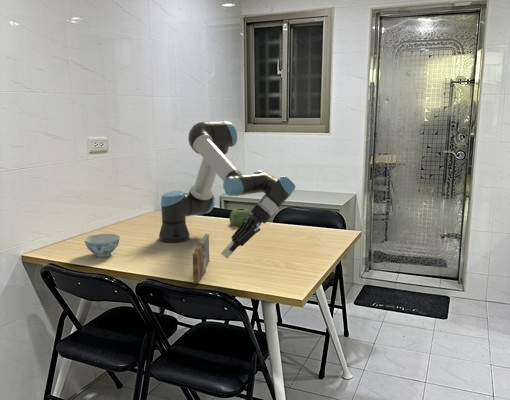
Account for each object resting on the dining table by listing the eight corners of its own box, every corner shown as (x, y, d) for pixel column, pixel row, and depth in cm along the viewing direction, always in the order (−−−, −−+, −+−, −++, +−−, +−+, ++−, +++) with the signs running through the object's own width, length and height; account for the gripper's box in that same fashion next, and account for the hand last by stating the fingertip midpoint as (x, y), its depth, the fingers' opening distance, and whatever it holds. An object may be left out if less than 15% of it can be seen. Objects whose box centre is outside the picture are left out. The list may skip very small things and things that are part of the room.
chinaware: (84, 252, 213) (83, 235, 212) (118, 248, 219) (117, 232, 218) (86, 261, 200) (85, 244, 198) (123, 257, 206) (122, 240, 204)
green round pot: (236, 220, 273) (236, 206, 272) (256, 222, 268) (256, 208, 266) (222, 226, 259) (222, 211, 258) (243, 229, 253) (243, 213, 252)
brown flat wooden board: (199, 269, 189) (198, 241, 186) (206, 269, 188) (206, 241, 186) (191, 283, 174) (190, 253, 171) (199, 283, 173) (198, 253, 171)
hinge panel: (203, 260, 201) (203, 233, 198) (210, 261, 201) (210, 233, 198) (198, 273, 186) (197, 244, 183) (205, 273, 186) (204, 244, 183)
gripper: (277, 220, 178) (236, 267, 175) (263, 212, 190) (225, 256, 187) (264, 207, 175) (222, 255, 172) (251, 200, 187) (212, 245, 185)
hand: (224, 256), depth 180 cm, fingers closed
